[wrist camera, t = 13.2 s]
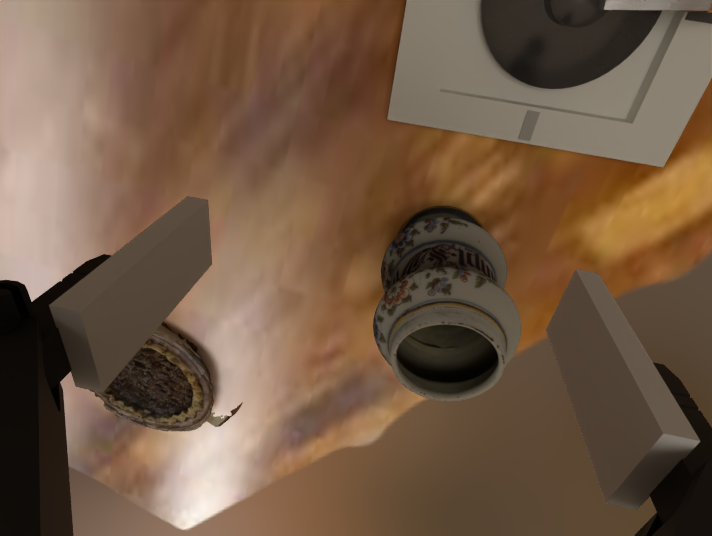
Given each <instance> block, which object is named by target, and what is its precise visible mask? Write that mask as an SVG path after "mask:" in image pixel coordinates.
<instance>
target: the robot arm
mask: <svg viewBox="0 0 712 536" xmlns="http://www.w3.org/2000/svg"><path fill="white" fill-rule="evenodd" d="M211 265H212V256H211V240H210V224H209V208H208V200H205V199H200V198H195V197H189V196H187V197H186V198H185V199H183V200H182V201H181V202H180V203H178V204H177V205H176V206H175V207H173V208H172V209H171V210H169V211H168V212H167V213H166V214H164V215H163V216H162V217H161V218H159V219H158V220H157V221H155V222H154V223H153V224H152V225H150V226H149V227H148V228H147V229H145V230H144V231H143V232H141V233H140V234H139V235H138V236H136V237H135V238H134V239H133V240H131V241H130V242H129V243H128V244H126V245H125V246H124V247H122V248H121V249H120V250H119V251H117V252H116V253H115V254H114V255H112V256H110V255H105V254H103V255H101V256H98V257H96V258H94V259H91V260H89V261H86V262H85V263H84V264H82V265H81V266H80V267H78V268H77V269H76V270H74V271H73V273H70V274H69V275H67V276H66V277H65V278H63V280H62V282H61V281H59V282H58V283H57V284H55V285H54V286H53V287H51V288H50V289H49V290H47V291H46V292H45V293H43V294H42V295H41V296H39V297H38V298H37V299H35V300H34V301H33V302H31V299H30V297H29V294H28V291H27V289H26V287H25V285H24V284H22V283H20V282H18V281H10V280H1V281H0V536H73V524H72V511H71V496H70V482H69V468H68V454H67V440H66V426H65V412H64V398H63V389H62V386H61V384H60V381H61V380H62V379H63V378H64V377H65V376H66V375H67V374H68V373H69V372H70V371H71V373H72V377H73V380H74V383H75V386H76V387H80V388H84V389H89V390H93V391H98V392H104V391H105V390H106V389H107V387H108V386H109V385H110V384H111V383H112V381H113V380H114V379H115V378H116V377H117V376H118V374H119V373H120V372H121V371H122V370H123V368H124V367H125V366H126V365H127V364H128V363H129V361H130V360H131V359H132V358H133V357H134V355H135V354H136V353H137V352H138V351H139V350H140V348H141V347H142V346H143V345H144V344H145V342H146V341H147V340H148V339H149V338H150V337H151V335H152V334H153V333H154V332H155V331H156V330H157V328H158V327H159V326H160V325H161V324H162V322H163V321H164V320H165V319H166V318H167V317H168V315H169V314H170V313H171V312H172V311H173V309H174V308H175V307H176V306H177V305H178V304H179V302H180V301H181V300H182V299H183V298H184V296H185V295H186V294H187V293H188V292H189V291H190V289H191V288H192V287H193V286H194V285H195V283H196V282H197V281H198V280H199V279H200V278H201V276H202V275H203V274H204V273H205V272H206V271H207V269H208V268H209V267H210V266H211ZM546 331H547V334H548V337H549V340H550V343H551V346H552V348H553V352H554V355H555V357H556V360H557V363H558V366H559V369H560V372H561V375H562V378H563V381H564V383H565V386H566V389H567V392H568V395H569V398H570V401H571V404H572V407H573V410H574V413H575V416H576V418H577V421H578V424H579V427H580V430H581V433H582V436H583V439H584V442H585V444H586V447H587V450H588V453H589V456H590V459H591V462H592V465H593V468H594V471H595V474H596V477H597V479H598V482H599V485H600V488H601V491H602V493H603V497H604V500H605V503H608V504H612V505H617V506H622V507H626V508H630V509H635V510H638V508H640V506H641V505H642V504H643V503H644V502H645V501H646V500H647V499H648V498H649V497H651V499H652V502H653V504H654V506H655V508H656V511H657V513H656V514H655V515H654V516H653V517H652V518H651V519H650V520H649V521H648V522H647V523H646V524H645V525H644V526H643V527H642V528H641V529H640V530H639V531H638V532H637V533H636V534H635V536H712V428H711V426H710V425H709V423H708V422H707V420H706V419H705V417H704V416H703V414H702V413H701V411H698V406H697V405H696V404H695V402H694V400H693V399H692V398H690V394H689V393H688V391H687V390H686V388H685V387H684V385H683V384H682V382H681V380H680V379H679V378H678V377H677V376H675V375H674V374H673V373H672V372H671V371H670V370H669V369H668V368H667V367H666V366H665V365H663V364H658V363H653V362H652V361H651V359H650V358H649V356H648V354H647V353H646V351H645V349H644V348H643V346H642V344H641V343H640V341H639V339H638V338H637V336H636V334H635V333H634V331H633V329H632V328H631V327H630V325H629V323H628V321H627V320H626V318H625V317H624V315H623V313H622V311H621V310H620V308H619V307H618V305H617V303H616V302H615V300H614V298H613V297H612V295H611V293H610V292H609V290H608V288H607V287H606V285H605V284H604V282H603V280H602V279H601V277H600V275H599V274H598V273H593V272H587V271H582V270H577V269H576V270H575V272H574V274H573V276H572V278H571V280H570V282H569V284H568V286H567V288H566V290H565V292H564V294H563V296H562V298H561V301H560V303H559V305H558V307H557V309H556V311H555V313H554V315H553V317H552V319H551V321H550V323H549V325H548V327H547V329H546Z"/></svg>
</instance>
